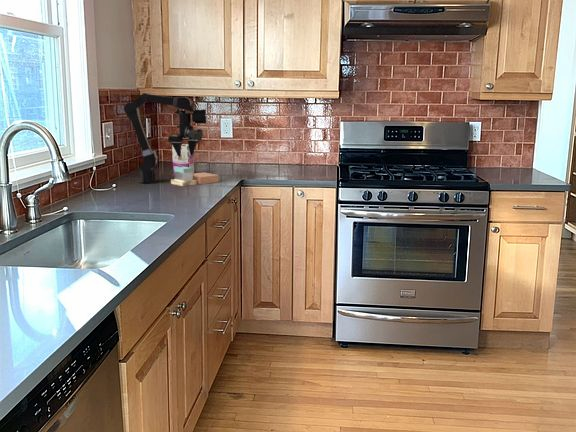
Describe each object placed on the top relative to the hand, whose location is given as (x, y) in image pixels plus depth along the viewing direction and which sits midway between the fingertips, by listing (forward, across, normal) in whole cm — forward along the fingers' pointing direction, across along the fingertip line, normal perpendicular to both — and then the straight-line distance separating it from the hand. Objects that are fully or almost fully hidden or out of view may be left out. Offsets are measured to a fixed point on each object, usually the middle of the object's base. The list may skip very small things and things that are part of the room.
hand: (185, 155), depth 277 cm
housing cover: (+7, -5, -2) cm, 9 cm away
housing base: (+11, -4, -2) cm, 12 cm away
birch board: (+13, -4, -2) cm, 14 cm away
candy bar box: (+13, +18, +17) cm, 29 cm away
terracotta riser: (+13, +6, -5) cm, 15 cm away
